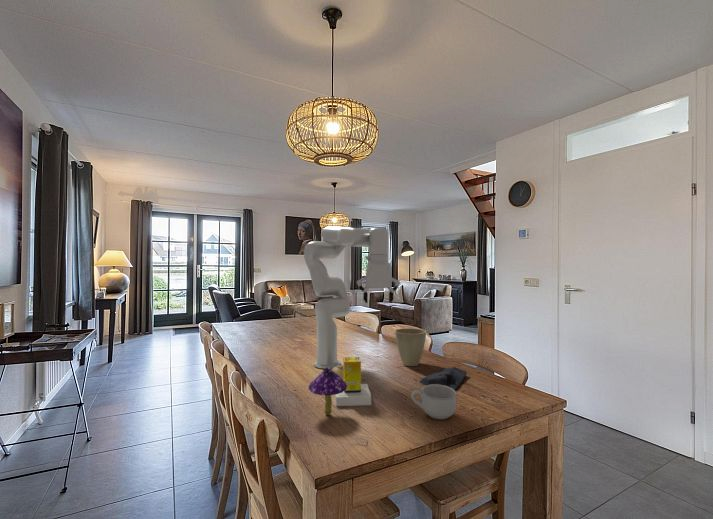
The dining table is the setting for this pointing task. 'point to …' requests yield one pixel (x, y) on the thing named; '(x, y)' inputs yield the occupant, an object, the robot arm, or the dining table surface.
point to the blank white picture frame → (354, 397)
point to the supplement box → (352, 374)
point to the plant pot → (410, 345)
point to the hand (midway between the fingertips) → (378, 302)
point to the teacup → (437, 400)
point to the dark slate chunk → (445, 377)
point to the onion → (338, 370)
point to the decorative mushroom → (328, 386)
